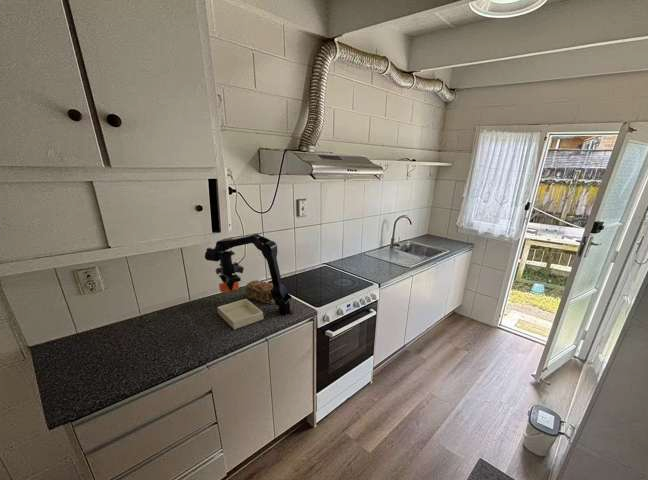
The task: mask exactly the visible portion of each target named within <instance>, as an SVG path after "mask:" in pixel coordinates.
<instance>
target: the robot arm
mask: <svg viewBox="0 0 648 480" xmlns="http://www.w3.org/2000/svg"><path fill="white" fill-rule="evenodd" d="M225 238H226V239H225ZM225 238H222V239H220V240H217V241H216V243H215V247H214V248H212V247H207V248H206V251H205V253H204V259H205V260H206V261H209V262H217V263H218V262H219V263H218V265H219V267H217V268H216V269H215V274H216V275H218V277H219V278H220V279H221V282H222V283H225V282H226V284H227V286H228V288H229V289H230V291H229V292H232V291H233V290H232V289H233V285H234V283H235V282H238V283H239V282H241V280H242V279H241V276H240V275H238V274H237V273H239V274H243V273H244V270H245V267H244V266H242V265H240V264H239V263H238V262H233V259H232V256H234V255H236V253H235V251H233V250H232V248H234V247H235V248H236V247H240V246H244V245H249V244H252V245H254V247H255V248H256V249H257V250H258V251H260V252H261V254H262V256H263V258H264V259H265V260H266V262H267V266H268V270H269V274H270V278H271V283H272V284H273V288H272V289H271V290H270V292H271V297H273V300H274V301H275V303H274V304H275V305H276V306H277V307H278V310H277V311H276V313H277V314H279V315H280V316H281V317H284V316H287V315H291V314H293V311H292V310H291V306H290V304H291V303H290V302H291V300H292V297H293V296H292V295H291V294H290V293H289V292H288V290H287V287H286V286H285V284H284V283H283V281H282V277H281V273H280V268H279V262H278V257H277V256H278V244H277V243H276V242H275V241H274V240H271V239H269V238H268V237H266V236H265V237H264V236H262V235H260V234H259V233H253V234H250V235H245V236H241V237H236V238H232V237H225ZM230 249H231V250H230ZM231 290H232V291H231Z"/></svg>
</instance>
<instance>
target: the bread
mask: <svg viewBox="0 0 648 480" xmlns="http://www.w3.org/2000/svg"><path fill="white" fill-rule="evenodd" d="M272 288H273V283H272V282H266V281H261V280H251V281H249V282H248V283H247V284H246V285H245V295H246V298H247V299H251V300H253V301H254V300H255V301H258V302H261V303H265V304H270V305H273V304H276V303H275V301H274V300H273V297H271V292H270V290H271V289H272Z"/></svg>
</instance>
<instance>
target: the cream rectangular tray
mask: <svg viewBox="0 0 648 480" xmlns="http://www.w3.org/2000/svg"><path fill="white" fill-rule="evenodd" d="M217 313H218V315H219V316H220V317H221V318H222V319H223V320H224V321H225V322H226V323H227V324H228V325H229V326H230V327H231V328H232V329H233V330H236V329H240V328H242V327H245V326H248V325H250V324H253V323H256V322H259V321H262V320H264V312H263V311H262V310H261V309H260V308H259V307H257V306H256V305H255V304H254V303H252V302H251V301H250V300H249V299H248V298H244V299H240V300H237V301H233V302H229V303H227V304H223V305H220V306H217Z"/></svg>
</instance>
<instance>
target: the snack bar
mask: <svg viewBox="0 0 648 480" xmlns="http://www.w3.org/2000/svg"><path fill="white" fill-rule="evenodd" d="M218 286H219V287H218V288H219V291H220V292H221V293H222V294H224V293H229V292H232V291H235V290H239V289H240V285H239V282H235V283H234V285H233V289H232V290H231V291H230V289H229V288H228V286H227V284H226V282H225V283H223V282H222V283H219V284H218Z"/></svg>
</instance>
